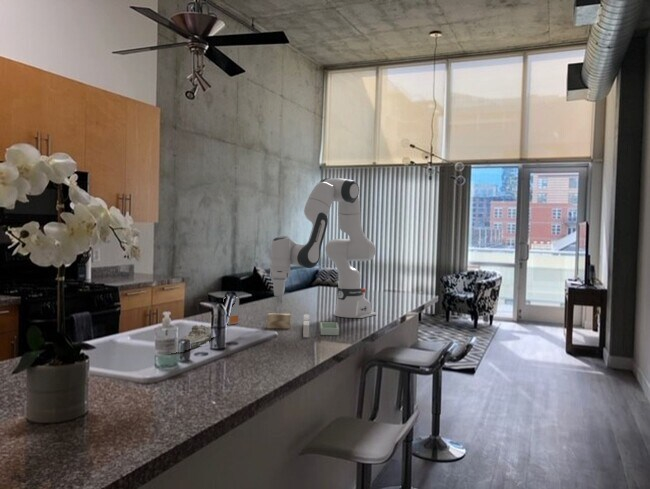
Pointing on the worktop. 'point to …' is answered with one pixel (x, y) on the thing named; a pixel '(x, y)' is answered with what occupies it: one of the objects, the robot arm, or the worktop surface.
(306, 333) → the door edge
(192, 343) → the long grey stone
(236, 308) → the skincare box
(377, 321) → the worktop surface
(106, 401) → the worktop surface
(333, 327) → the pale green tray
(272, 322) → the bar
